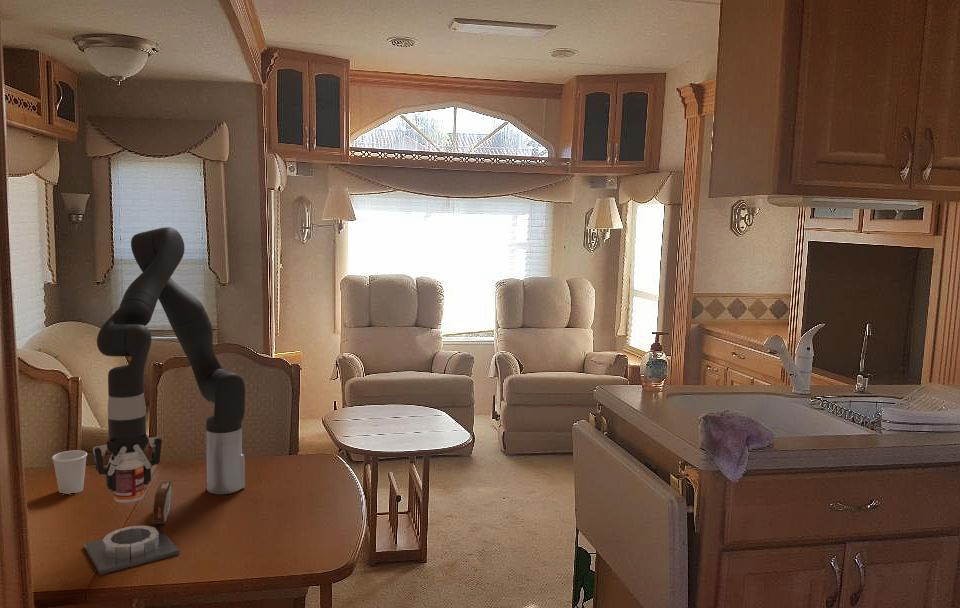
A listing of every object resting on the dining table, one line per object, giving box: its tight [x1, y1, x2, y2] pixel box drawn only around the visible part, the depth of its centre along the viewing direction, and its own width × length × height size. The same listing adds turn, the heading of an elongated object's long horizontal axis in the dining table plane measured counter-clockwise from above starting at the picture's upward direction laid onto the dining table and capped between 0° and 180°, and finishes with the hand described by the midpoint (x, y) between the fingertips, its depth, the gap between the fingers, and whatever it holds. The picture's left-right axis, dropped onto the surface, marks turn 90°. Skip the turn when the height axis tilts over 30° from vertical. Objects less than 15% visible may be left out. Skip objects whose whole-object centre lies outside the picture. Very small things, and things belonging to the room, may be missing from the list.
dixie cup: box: [51, 449, 88, 495], centre depth 196 cm, size 8×8×10 cm
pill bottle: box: [113, 451, 145, 504], centre depth 161 cm, size 6×6×11 cm
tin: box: [152, 479, 173, 525], centre depth 181 cm, size 15×3×8 cm, turn 16°
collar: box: [83, 525, 180, 576], centre depth 163 cm, size 16×16×4 cm
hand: (128, 486), depth 161 cm, fingers closed on pill bottle, 6 cm apart
